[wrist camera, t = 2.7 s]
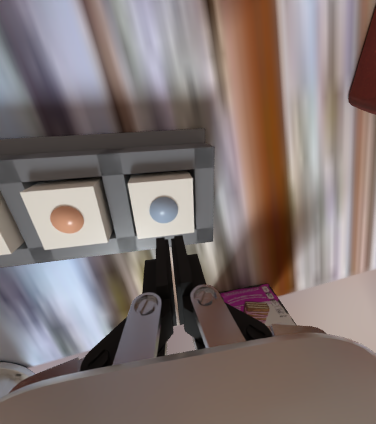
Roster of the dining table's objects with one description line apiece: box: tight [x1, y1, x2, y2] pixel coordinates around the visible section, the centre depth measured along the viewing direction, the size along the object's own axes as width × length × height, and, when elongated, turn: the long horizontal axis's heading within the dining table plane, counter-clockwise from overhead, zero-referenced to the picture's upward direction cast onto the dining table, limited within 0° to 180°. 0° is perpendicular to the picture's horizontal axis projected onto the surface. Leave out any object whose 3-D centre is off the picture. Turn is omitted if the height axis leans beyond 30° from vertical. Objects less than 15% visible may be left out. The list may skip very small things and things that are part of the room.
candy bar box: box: [219, 284, 296, 326], centre depth 29 cm, size 11×5×16 cm, turn 95°
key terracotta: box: [20, 178, 113, 250], centre depth 19 cm, size 6×6×3 cm
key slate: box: [128, 171, 194, 239], centre depth 21 cm, size 6×6×3 cm
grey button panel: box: [0, 129, 214, 268], centre depth 22 cm, size 14×29×5 cm, turn 92°
